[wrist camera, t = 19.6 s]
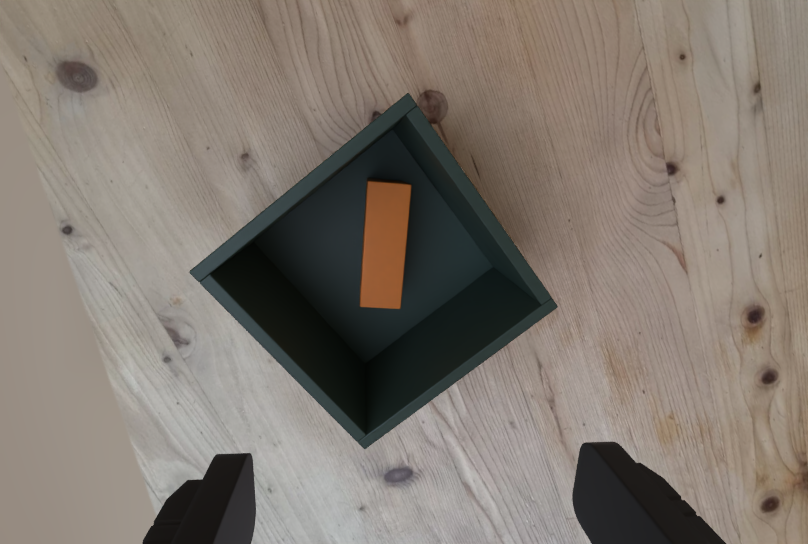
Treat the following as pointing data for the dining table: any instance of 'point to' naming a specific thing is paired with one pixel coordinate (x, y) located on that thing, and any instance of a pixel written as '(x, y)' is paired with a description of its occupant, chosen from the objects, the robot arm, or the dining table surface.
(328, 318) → the open box
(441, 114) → the dining table surface
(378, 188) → the block
